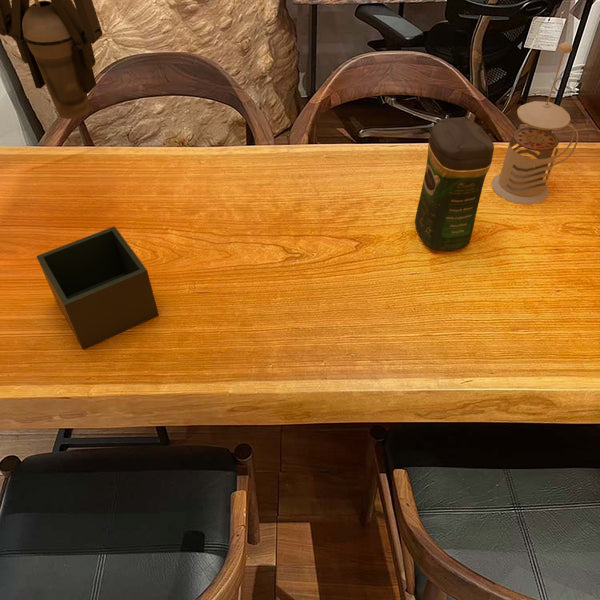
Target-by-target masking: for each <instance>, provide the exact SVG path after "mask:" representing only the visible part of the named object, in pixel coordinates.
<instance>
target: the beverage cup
mask: <svg viewBox="0 0 600 600" xmlns="http://www.w3.org/2000/svg"><path fill="white" fill-rule="evenodd" d="M33 1H34V3H32V4H30V5H29V8H28V9H27V10H26V12H25V14H24V17H23V21H22V29H23V33H24V34H23V38H24V40H25V41H26V42H27V45H28V47H29V49H30V51H31V53H32V54H33V55H34V57H35V60H36V62H37V65H38V67H39V69H40V72H41V74H42V77H43V79H44V82H45V86H46V89H47V92H48V94H49V96H50V99H51V101H52V104H53V106H54V108H55V109H56V111H57V114H58V117H60V118H62V119H65V120H76V119H81V118H83V117H84V116H86V115H87V114H88V113H89V111H90V107H89V97H88V93H84V92H83V88H82V84H81V81H80V77H79V73H78V70H77V66H76V63H75V59H74V55H73V52H72V47H73V46H74V45H75V44H76V43H75V41H74V40H73V38H72V36H71V34H70V33H69V31H68V29H67V28H66V26H65V24H64V22H63V21H62V19H61V17H60V16H59V14H58V12H57V10H56V9H55V7H54V5H53V3H52V2H51V0H33Z"/></svg>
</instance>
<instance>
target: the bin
mask: <svg viewBox="0 0 600 600" xmlns="http://www.w3.org/2000/svg"><path fill="white" fill-rule="evenodd" d="M36 258H37V261H38V263H39V266H40V268H41V270H42V272H43V275H44V277H45V279H46V282H47V284H48V286H49V288H50V291H51V293H52V296H53V298H54V299H55V302H56V304H57V306H58V307H59V309H60V311H61V313H62V314H63V317H64V318H65V320H66V322H67V323H68V326H69V327H70V330H71V331H72V333H73V335H74V337H75V338H76V340H77V342H78V343H79V345H80V348H81V349H82V350H86V349H88V348H91V347H92V346H95V345H97V344H99V343H102V342H103V341H105V339H106V340H108V339H110V338H113V337H114V336H116V335H119V334H121V333H123V332H125V331H128V330H129V329H132V328H134V327H136V326H138V325H140V324H143V323H145V322H147V321H150V320H152V319H154V318H157V317H158V316H159V315H160V314H159V311H158V306H157V303H156V299H155V295H154V292H153V288H152V283H151V279H150V276H149V271H148V269H147V268H146V267H145V265H144V264H143V262H142V261H141V260H140V258H139V257H138V255H137V254H136V253H135V252H134V250H133V249H132V248H131V246H130V245H129V243H128V242H127V241H126V240H125V238H124V237H123V235H122V234H121V233H120V231H119V230H118V228H117V227H116V226H111V227H108V228H106V229H104V230H101V231H98V232H95V233H93V234H90V235H87V236H85V237H83V238H82V237H81V238H80V239H77V240H75V241H72V242H70V243H67V244H64V245H62V246H59V247H56V248H54V249H51V250H47V251H46V252H43V253H40V254H38V255H36Z"/></svg>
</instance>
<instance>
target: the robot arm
mask: <svg viewBox="0 0 600 600" xmlns="http://www.w3.org/2000/svg"><path fill="white" fill-rule="evenodd" d="M50 2H52V3H53V5H54V7H55V9H56V10H57V12H58V14H59V16H60V17H61V19H62V21H63V22H64V24H65V26H66V28H67V29H68V31H69V33H70V34H71V36H72V38H73V40H74V41H75V43H76V44H75V45H74V46H73V47H72V52H73V55H74V59H75V63H76V66H77V70H78V73H79V77H80V81H81V84H82V88H83V92H84V93H87V94H90V93H91V91H92V90H93V89H94V88H95V87H96V86H97V81H96V77H95V74H94V69H93V68H94V67H95V66H96V61H97V60H96V57H95V52H94V48H93V45H94V44H95V43H96V42H97V41H98V40H99V39H100V38H101V37H102V36H103V34H104V33H103V30H102V27H101V23H100V20H99V17H98V14H97V11H96V8H95V4H94V2H93V0H50ZM29 7H30V0H11V1H10V0H0V35H1V36H3V37H6V36H8V37H10V38H12V39H13V41H15V43H16V46H17V49H18V52H19V55H20V58H21V61H23V63H24V64H27V65H28V68H29V71H30V74H31V77H32V80H33V83H34V86H35V89H43V87H45V86H46V84H45V82H44V79H43V77H42V74H41V72H40V69H39V67H38V65H37V62H36V60H35V57H34V55H33V54H32V53H31V51H30V49H29V47H28V45H27V42H26V41H25V40H24V38H23V34H24V33H23V29H22V21H23V17H24V14H25V12H26V10H27V9H28V8H29ZM92 44H93V45H92Z"/></svg>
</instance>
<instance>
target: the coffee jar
mask: <svg viewBox="0 0 600 600" xmlns="http://www.w3.org/2000/svg"><path fill="white" fill-rule="evenodd" d="M494 150H495V143H494V142H493V141H492V139H491V138H490V136H489V135H488V134H487V132H486V131H485V130H484V129H483V127H481V126H480V125H479V124H478V123H476V122H474V120H471V119H470V118H469V117H467V116H465V117H463V116H461V117H446V118H442V119H440V120H439V121H438V122H437V123H436V124H435V125H434V126H433V128H432V130H431V132H430V137H429V140H428V145H427V158H426V166H425V170H424V171H425V172H424V177H423V181H422V185H421V191H420V196H419V200H418V204H417V208H416V213H415V216H414V217H415V218H414V225H415V229H416V232H417V234H418V236H419V237H420V239H421V241H422V242H423V244H424V246H426V247H427V248H428V249H430V250H433V251H436V252H444V253H445V252H447V253H448V252H450V253H451V252H457V251H459V250H462V249H465V248H467V247H468V246H469V245H470V242H471V240H472V235H473V231H474V227H475V222H476V218H477V217H476V216H477V212H478V208H479V204H480V199H481V195H482V192H483V191H482V190H483V187H484V183H485V180H486V177H487V174H488V172H489V171H490V168H491V166H492V162H493V156H494Z"/></svg>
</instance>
